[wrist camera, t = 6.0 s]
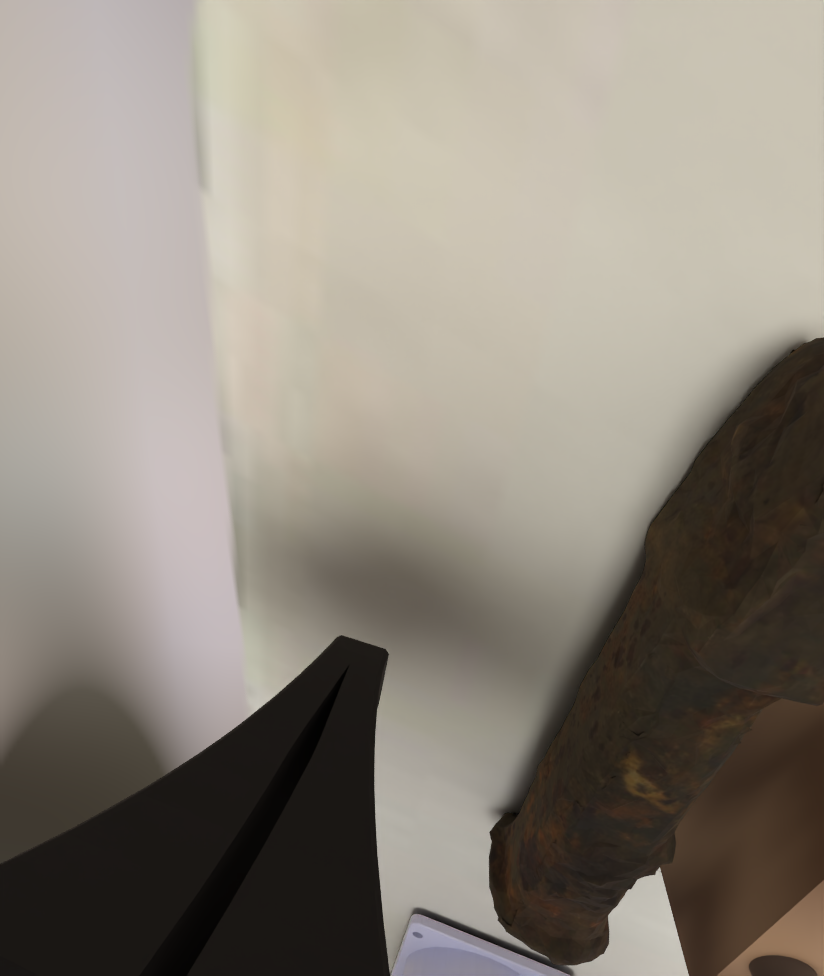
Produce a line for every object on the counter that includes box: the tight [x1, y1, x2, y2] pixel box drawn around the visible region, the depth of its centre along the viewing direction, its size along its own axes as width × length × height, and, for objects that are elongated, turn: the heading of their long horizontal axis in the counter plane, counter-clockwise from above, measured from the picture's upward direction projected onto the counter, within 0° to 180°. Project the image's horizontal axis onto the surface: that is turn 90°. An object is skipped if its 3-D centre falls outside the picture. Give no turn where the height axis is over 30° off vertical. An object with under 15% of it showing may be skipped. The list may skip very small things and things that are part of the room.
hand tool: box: [489, 338, 824, 965], centre depth 11 cm, size 19×4×5 cm, turn 167°
